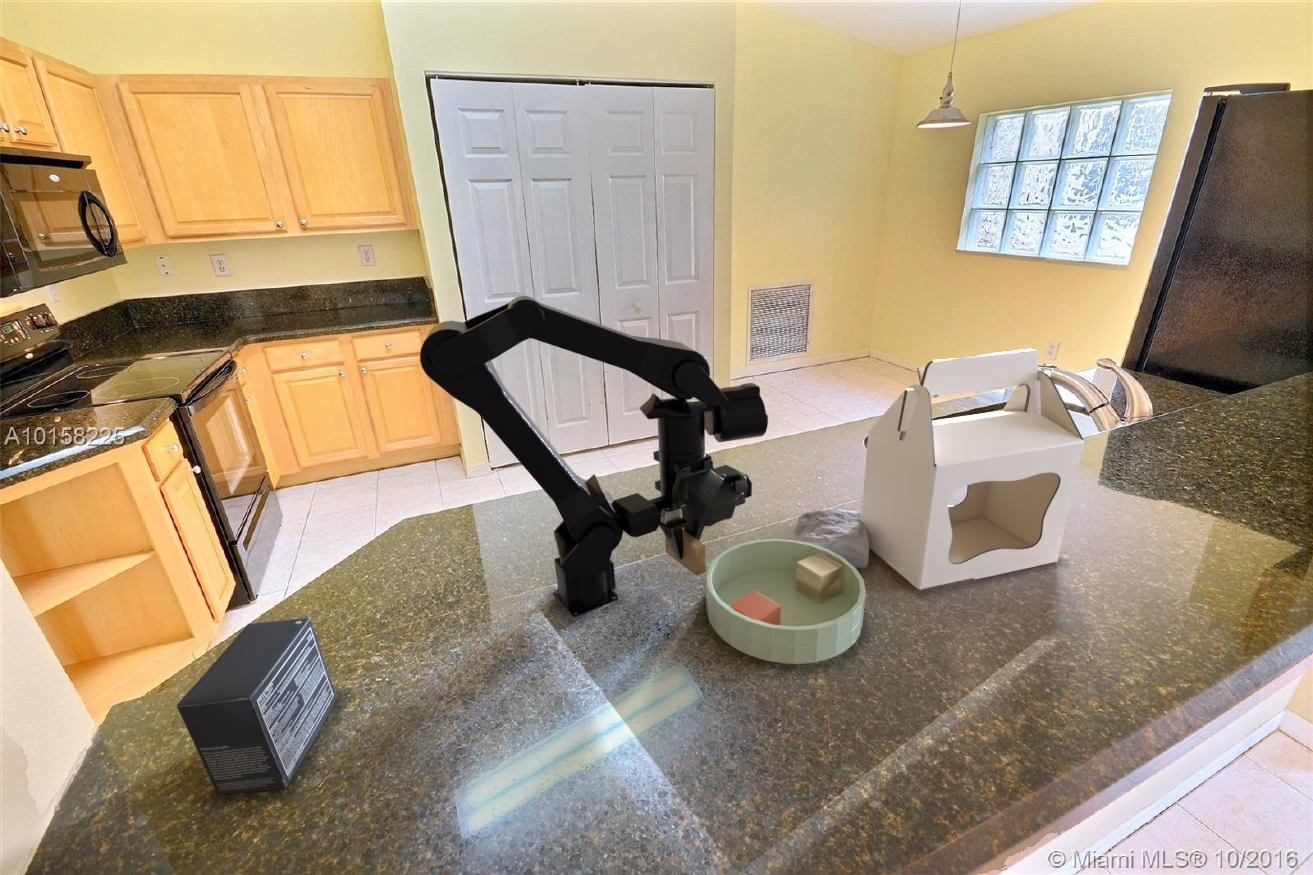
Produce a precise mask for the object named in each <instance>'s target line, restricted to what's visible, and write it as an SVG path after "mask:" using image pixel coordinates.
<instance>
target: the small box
mask: <svg viewBox="0 0 1313 875" xmlns="http://www.w3.org/2000/svg"><path fill="white" fill-rule="evenodd" d="M338 698H339V697H338V695H337V692H336V689H335V686H334V684H333V681H332V679H331V676H330V673H329V670H328V667H327V664H326V661H325V659H324V654H323V652H322V649H321V646H320V643H319V640H318V637H317V634H316V631H315V628H314V625H313V621H312V619H311V617H310V616H306V617H298V618H288V619H280V620H272V621H271V620H270V621H261V622H259V621H258V622H251V623H247V625H246V626H245V627H244V628H243V629H242V630H241V632H240V633H239V634H238V635H237V636H236V637H235V638H234V640H233V641H232V642H231V643H230V644H229V645H228V647H226V649H225V650H224V651H223V652H222V653H221V655H219V657H218V658H217V659H216V660H215V661H214V662H213V663H212V665H210V667H209V668H208V669H207V670H206V672H205V673H204V674H203V675H201V677H200V678H199V679H198V681H197V682H196V683H195V684H194V685H193V686H192V687H191V688H190V690H188V692H186V694H185V695H184V696H183V698H181V700H180V701H179V702H178V703H177V704H176V706H175V707H176V708H177V710H178V712H179V715H180V716H181V719H182V721H183V723H184V725H185V728H186V729H187V732H188V734H189V736H190V738H191V740H192V742H193V745H194V746H195V749H196V751H197V753H198V756H199V757H200V760H201V762H202V764H203V766H204V768H205V770H206V773H207V775H208V778H209V779H210V782H211V784H212V786H213V788H214V791H215V793H216V795H218V796H222V795H233V794H242V793H251V792H261V791H272V790H281V789H286V788H288V786H290V783H291V782H292V780H293V778H294V777H295V775H296V773H297V771H298V769H299V767H300V766H301V765H302V762H303V760H304V759H305V757H306V755H307V753H308V752H309V750H310V748H311V747H312V744H313V743H314V741H315V739H316V737H317V736H318V735H319V732H320V730H321V728H322V727H323V725H324V724H325V721H326V720H327V718H328V716H329V715H330V712H331V711H332V709H333V707H334V705H335V704H336V702H337V700H338Z"/></svg>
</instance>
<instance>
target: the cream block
mask: <svg viewBox="0 0 1313 875" xmlns="http://www.w3.org/2000/svg"><path fill="white" fill-rule="evenodd" d="M843 570H844V566H843V565H841V564H840V563H838V562H836V561H834V560H833V559H831V558H829V557H827V556H825V555H824V554H822V553H820V552H818V553H816V554H814V555H812V556H809V557H807V558H805V559H803V560H801V561H798V562H797V571H796V589H797V590H798V591H800V592H801V593H803V594H804V595H806V596H807V597H809V598H810V599H812V600H813V601H815V602H816V603H818V604H819V605H820V604H822V603H823V602H825V601H827V600H829V599H831V598H833V597H835V596H837V595H839V594H841V593H842V583H843Z"/></svg>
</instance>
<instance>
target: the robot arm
mask: <svg viewBox="0 0 1313 875" xmlns="http://www.w3.org/2000/svg"><path fill="white" fill-rule="evenodd" d="M529 339H532V340H535V341H538V342H541V343H544V344H548V345H551V346H553V347H555V348H559V349H562V350H565V351H568V352H571V353H574V354H577V355H581V356H583V357H587V358H590V359H592V360H595V361H599V362H601V363H604V364H607V365H610V366H613V367H616V368H619V369H623V370H625V371H627V372H629V373H631V374H633V375H635V376H636V377H638V378H640V379H642V380H644V381H645V382H647V383H648V384H650V385H652V386H654V387H655V388H657V389H659V390H660V391H662V392H664V393H666V394H667V395H669V396H671V397H670V398H662V399H661V397H659V396H658V395H657V394H656V393H652V394H651V395H650V397H649V398H648V399H647V400H646V401H645V402H644V403H643V404H642V405H640V407H639V411H640V412H641V413H642V414H643V416H644V417H645V418H646V419H647V420H656V419H657V437H658V438H657V439H658V450H656V451H653V452H652V454H653V460H654V461H656V462H658V464H659V479H658V480H655V481H654V488H655V490H656V491H657V492H660V496H657V497H654V498H651V499H648V498H646V497H645V496H643V495H642V494H640V493H639V492H635V493H633V494H629V495H626V496H623V497H619V498H617V499H614V497H613V495H612V493H610V492H609V491H607V490H605V488H604V487H602V485H601V483H600V481H599V479H598V477H597V475H596V474H595V473H594V474H592V475H591V476H590V477H589V478H588V479H587V480H586V479H584V478H582V477H581V476H579V475H578V474H576V472H574V470H573V469H572V468H571V466H569V464H568V463H567V462H566V460H565V459H564V458H563V457H562V456H561V454H560V453H559V452H558V451H557V449H556V448H555V447H554V446H553V445H552V444H551V442H550V441H549V439H547V437H546V436H545V434H544V433H543V432H542V431H541V430H540V428H539V427H538V426H537V425H536V424H535V422H534V421H533V420H532V418H530V416H529V415H528V413H527V412H526V411H525V410H524V409H523V407H521V405H520V404H519V402H517V400H516V399H515V398H514V396H513V395H512V394H511V393H510V392H509V390H508V389H507V388H506V387H505V385H504V383H503V381H502V379H501V377H500V376H499V373H498V371H497V369H496V367H495V365H494V362H493V361H492V360H495V359H497V358H499V356H501V355H503V354H504V353H507V351H510V350H511V349H513V348H514V347H516V346H517V345H519V344H521V343H522V342H525V341H527V340H529ZM419 352H420V353H419V363H420V366H421V368H422V370H423V372H424V373H425V375H426V376H427V377H428V378H429V379H430V380H432V381H433V383H435V384H436V385H437V386H439V387H440V388H441V389H442V390H443V391H445V392H446V393H447V394H449V396H451V397H452V398H454V399H455V400H457V401H459V402H460V403H462V404H463V405H465V406H466V407H467V408H470V409H471V410H473V411H474V412H476V414H478V415H479V416H480V417H481V418H482V420H483V421H484V423H486V425H487V426H489V428H490V429H491V430H492V431H493V433H494V434H495V435H496V436H497V437H498V438H499V439H500V440H501V442H502V443H503V444H504V445H505V446H506V448H507V449H508V450H509V451H510V452H511V454H512V455H513V456H514V457H515V458H516V460H517V461H519V463H520V464H521V465H522V466H523V468H524V469H525V470H526V471H527V472H528V473H529V475H530V476H531V477H532V478H533V480H534V481H535V482H536V483H537V484H538V485H539V487H541V488H542V490H543V491H544V492H545V494H547V496H548V497H549V498H550V499H551V500H552V502H553V503H554V505H555V507H556V509H557V511H558V512H559V514H560V515H559V516H560V517H561V519H562V521H561V522H560V523H559V525H558V526H557V527H556V528H555V529H554V531H553V535H554V539H555V544H556V548H557V553H558V557H556V558H554V567H555V576H556V584H557V589H556V590H554V591H553V594H554V595H555V597H556V598H557V599H558V600H559V601H560V603H561V604H562V605H563V607H564V608H565V609H566V610H567V611H568V612H569V614H570V615H571V616H572V617H579V616H581V615H584V614H585V613H589V612H591V611H593V610H596V609H598V608H601V607H603V606H605V605H608V604H611V603H613V602H615V601H617V600H619V599H620V596H619V595H618V593H616V592H615V590H616V588H617V587H616V576H615V575H616V574H615V562H614V561H613V560H612V559H611V557H612V554H613V551H614V550H615V549H616V548H617V547H618V546H619V545H620V543H621V541H622V539H623V534H624V533H625V534H627V535H628V536H629V537H631V538H640V537H642V536H645V535H648V534H651V533H653V532H656V531H657V530H658V528H660V529H661V531H662V533H663V534H664V537H665V536H666V538H667V540H668V542H669V544H670V546H671V548H672V550H673V552H674V554H675V556H676V557H677V558H678V559H680V560H681V559H683V530H684V531H686V532H687V533H688V534H690V535H691V536H693V537H694V538H696V539H697V540H699V541H701V538H702V535H703V532H704V530H705V527H712V526H714V525H715V524H717V523H720V522H722V521H725V520H727V521H729V520H730V519H732V518H733V516H734V513H735V510H736V507H738V506H741V505H744V504H746V499H747V498H750V497H752V495H753V481H752V480H751V478H750V476H749V475H748V474H746V473H744V472H742V471H740V470H738V469H736V468H734V467H732V466H729V465H727V464H724V465H720V466H717V467H714V460H713V459H712V458H713V456H712V455H710V454H708V453H706V433H707V434H708V436H713V438H714V439H715V441H716V442H718V443H725V442H733V441H741V440H745V439H753V438H760V437H763V436H764V435H765V434H766V432H767V429H768V425H769V416H768V414H767V410H766V406H765V403H764V400H763V398H762V397H761V387H760V386H759V385H757V384H755V383H754V382H746V383H742V384H740V385H735V386H727V387H726V386H725V387H720V386H718V385H717V384H716V383H715V382H714V380H713V379H712V378H711V368H710V365H709V362H708V360H707V358H706V356H704V354H701V353H700V352H698V351H696V350H694V349H693V348H691V347H690V346H688V345H685V344H684V343H683V342H679V341H675V340H669V339H663V338H658V337H657V338H656V337H646V336H645V337H644V336H638V335H637V336H636V335H631V334H628V333H625V332H622V331H620V330H617V329H614V328H612V327H608V326H606V325H603V324H600V323H598V322H594V321H592V320H589V319H587V318H585V317H580V316H579V315H575V314H572V313H570V312H567V311H564V310H561V309H559V308H557V307H553V306H550V305H547V304H545V303H542V302H540V301H538V300H537V299H535V298H534V297H532V296H529V295H528V296H527V295H519V296H516V297H514V298H513V299H511V300H510V301H509V302H507V303H505V304H503V305H500V306H498V307H496V308H493V309H490V310H488V311H485V312H482V313H480V314H478V315H475V316H473V317H471V318H469V319H467V320H465V321H458V320H446V321H445V320H444V321H441V322H440V323H438V324H435V326H433V327H432V328H431V329H430V330H429V332H428V334H427V336H426V337H425V339H424V341H423V343H422V345H421V347H420V351H419ZM693 398H694V399H695V400H694V401H688V400H692V399H693ZM614 597H616V598H614Z"/></svg>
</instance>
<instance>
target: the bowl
mask: <svg viewBox="0 0 1313 875" xmlns="http://www.w3.org/2000/svg"><path fill="white" fill-rule="evenodd" d="M818 552H820V553H822V554H824V555H825V556H827V557H829V558H831V559H833V560H834V561H836V562H838V563H840V564H841V565H843V566H844V570H843V583H842V593H841V594H839V595H837V596H835V597H833V598H831V599H829V600H827V601H825V602H823V603H822V604H820V605H819V604H818V603H816V602H815V601H813V600H812V599H810V598H809V597H807V596H806V595H804V594H803V593H801V592H800V591H798V590H797V589H796V571H797V562H798V561H801V560H803V559H805V558H807V557H809V556H812V555H814V554H816V553H818ZM707 567H708V568H707V570H706V576H705V608H706V609H705V610H706V613H707V618H708V622H709V623H710V625H711V627H712V629H713V630H714V631H715V633H716V634H717V635H718V636H719V637H720V638H721V639H722V640H723V641H724V642H726V643H727V644H728V645H730V646H731V647H733V648H734V649H736V650H738V651H739V652H742V653H743V654H745V655H748V656H751V657H753V658H757V659H760V660H764V661H767V662H771V663H778V664H786V665H787V664H788V665H803V664H813V663H818V662H823V661H827V660H829V659H832V658H835V657H837V656H839V655H840V654H843V653H844V652H845V651H847V650H849V649H850V648H851V647H852V646H853V645H854V644H855V643H856V642H857V640H858V639H859V637H860V635H861V631H862V628H863V624H864V614H865V604H866V595H867V594H866V593H867V590H866V585H865V582H864V578H863V576H862V575H861V574H860V572H859V571H858V568H855V567H854V566H853V565H851V564H850V563H849V562H848V561H847V560H846V559H844V558H843V557H841V556H839V555H837V554H835V553H834V552H832V551H830V550H828V549H825V548H822V547H819V546H817V545H814V544H810V543H806V542H801V541H796V540H794V539H785V538H765V539H755V540H751V541H746V542H741V543H738V544H736V545H734V546H731V547H728V548H726V549H725V550H724V551H722V552H721V553H720V554H718V555H717V556H716V557H714V559H713V560H712V561H711V563H710V564H709V565H708V566H707ZM754 590H755V591H756V592H758V593H760V594H761V595H763V596H765V597H766V598H768V599H770V600H771V601H773V602H775V603H777V604H778V605H780V606H781V613H780V625H773V624H769V623H765V622H761V621H758V620H754V619H751V618H749V617H747V616H745V615H742V614H740V613H738V612H736V611H734V610H733V609H732V608H730V604H732V603H733V602H735V601H737V600H738V599H740V598H742V597H743V596H745V595H747V594H749V593H750V592H752V591H754Z"/></svg>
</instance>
